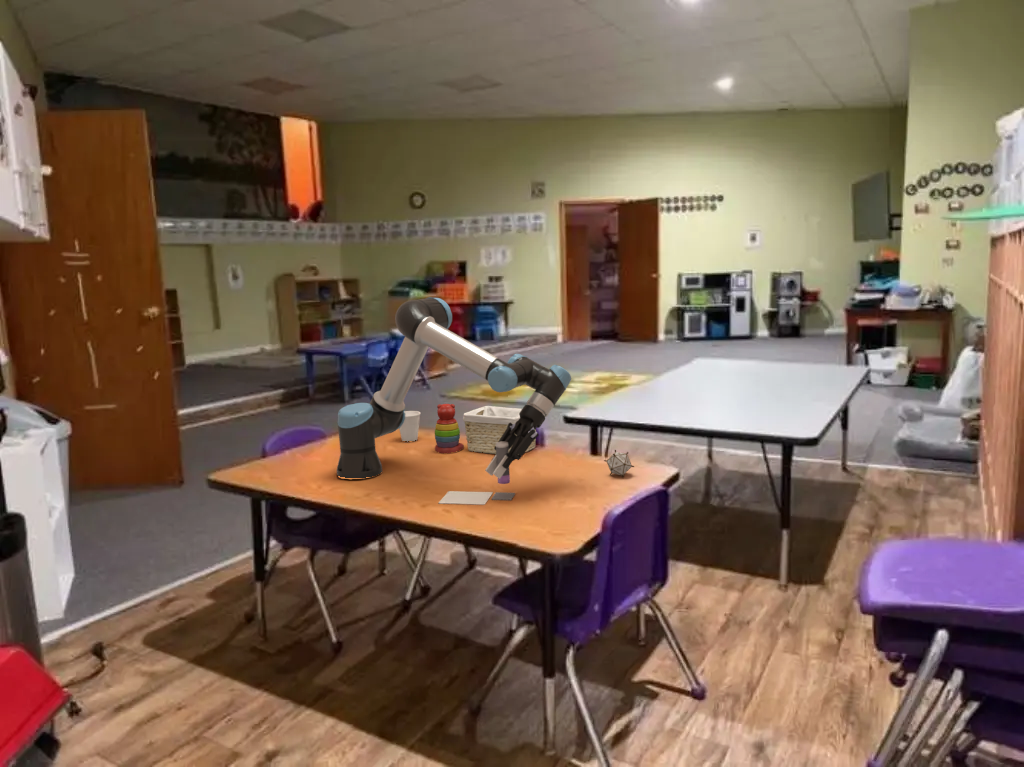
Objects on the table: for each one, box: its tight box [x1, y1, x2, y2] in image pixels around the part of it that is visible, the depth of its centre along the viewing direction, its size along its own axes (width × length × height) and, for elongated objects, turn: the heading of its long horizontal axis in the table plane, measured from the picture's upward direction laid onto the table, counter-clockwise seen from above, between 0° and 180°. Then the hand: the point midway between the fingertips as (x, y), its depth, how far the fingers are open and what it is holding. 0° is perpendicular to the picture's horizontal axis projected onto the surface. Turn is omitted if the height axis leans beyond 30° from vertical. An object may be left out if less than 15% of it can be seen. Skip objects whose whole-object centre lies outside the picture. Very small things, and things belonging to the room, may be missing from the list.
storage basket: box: [462, 405, 537, 455], centre depth 277 cm, size 24×16×15 cm
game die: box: [603, 449, 635, 478], centre depth 240 cm, size 9×8×10 cm
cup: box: [399, 410, 422, 443], centre depth 297 cm, size 10×10×11 cm
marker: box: [496, 441, 511, 485], centre depth 222 cm, size 4×4×12 cm
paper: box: [438, 490, 494, 506], centre depth 224 cm, size 14×11×1 cm
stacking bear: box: [434, 403, 465, 454], centre depth 279 cm, size 11×10×18 cm
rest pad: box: [491, 491, 516, 501], centre depth 224 cm, size 6×6×1 cm
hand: (492, 474), depth 221 cm, fingers closed on marker, 3 cm apart
